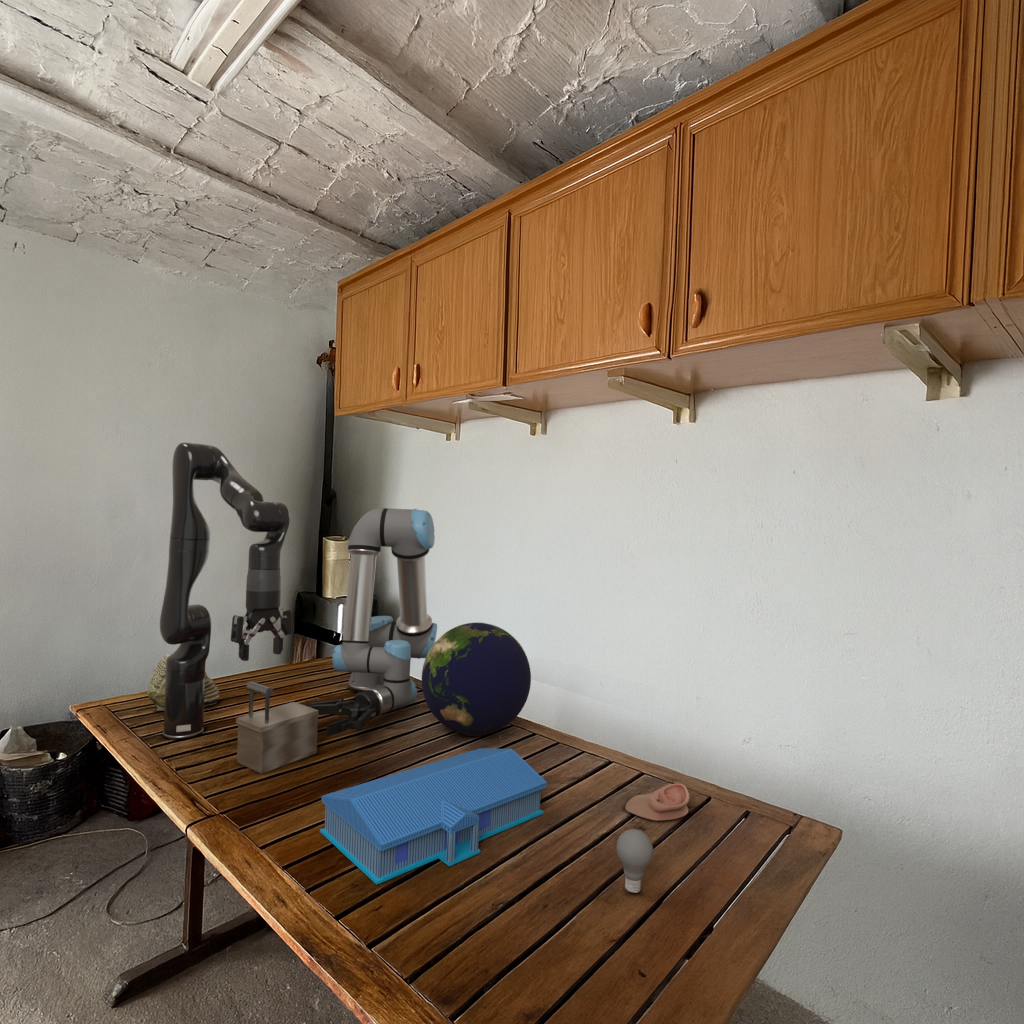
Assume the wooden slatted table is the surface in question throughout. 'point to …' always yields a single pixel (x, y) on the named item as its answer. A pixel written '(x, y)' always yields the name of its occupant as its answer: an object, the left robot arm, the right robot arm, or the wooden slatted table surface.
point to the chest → (277, 745)
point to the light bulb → (634, 857)
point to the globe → (476, 679)
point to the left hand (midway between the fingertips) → (261, 657)
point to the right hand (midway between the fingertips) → (309, 724)
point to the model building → (431, 811)
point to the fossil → (158, 687)
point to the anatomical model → (661, 803)
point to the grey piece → (272, 711)
